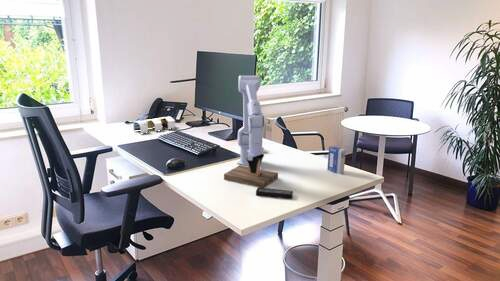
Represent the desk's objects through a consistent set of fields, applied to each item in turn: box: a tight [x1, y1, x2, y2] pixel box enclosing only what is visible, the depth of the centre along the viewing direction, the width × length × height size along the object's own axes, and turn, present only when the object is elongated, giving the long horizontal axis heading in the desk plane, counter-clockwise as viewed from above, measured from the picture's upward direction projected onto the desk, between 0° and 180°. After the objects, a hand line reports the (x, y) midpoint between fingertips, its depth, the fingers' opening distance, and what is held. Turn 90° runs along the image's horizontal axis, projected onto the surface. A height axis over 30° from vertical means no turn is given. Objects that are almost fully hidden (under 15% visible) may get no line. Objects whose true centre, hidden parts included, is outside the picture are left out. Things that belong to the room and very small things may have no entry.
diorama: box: [132, 115, 176, 133], centre depth 254 cm, size 25×10×13 cm, turn 132°
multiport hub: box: [255, 187, 294, 200], centre depth 156 cm, size 4×14×2 cm, turn 78°
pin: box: [248, 158, 261, 177], centre depth 171 cm, size 4×4×8 cm
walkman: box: [326, 145, 347, 175], centre depth 182 cm, size 8×3×12 cm, turn 37°
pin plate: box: [223, 164, 279, 188], centre depth 173 cm, size 14×20×2 cm
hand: (255, 171), depth 171 cm, fingers closed on pin, 4 cm apart
